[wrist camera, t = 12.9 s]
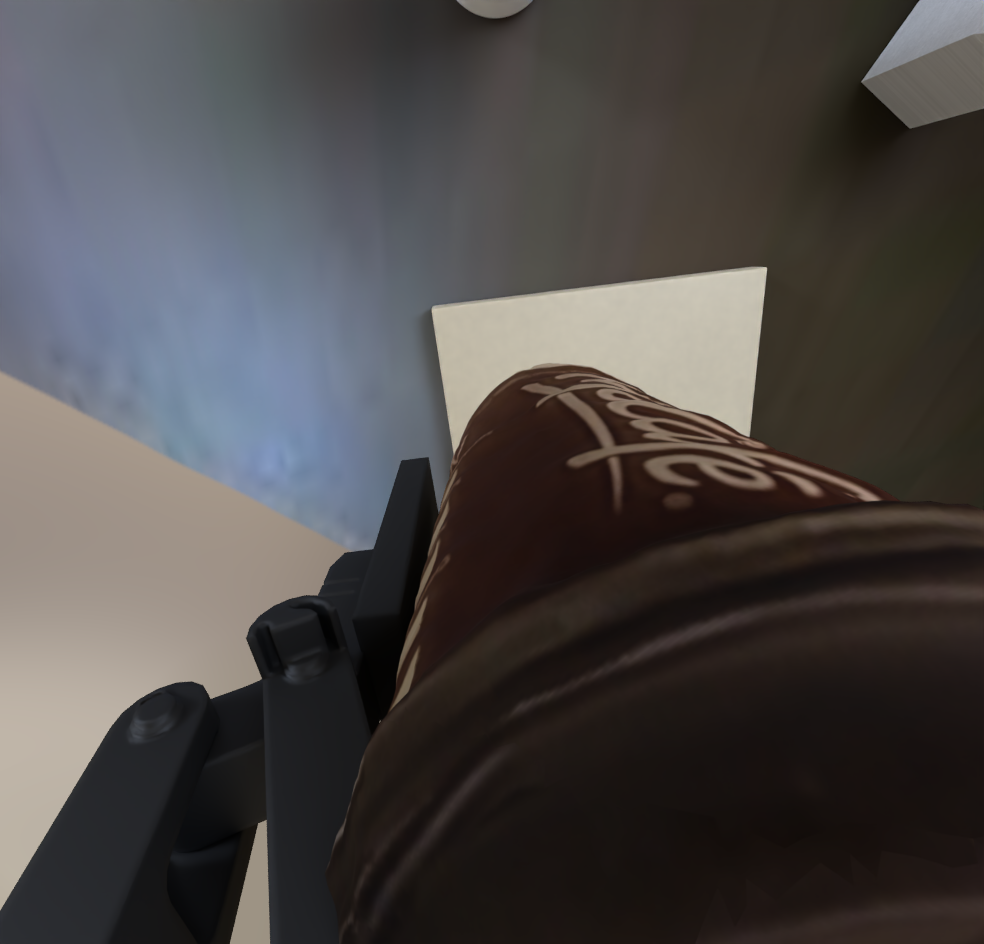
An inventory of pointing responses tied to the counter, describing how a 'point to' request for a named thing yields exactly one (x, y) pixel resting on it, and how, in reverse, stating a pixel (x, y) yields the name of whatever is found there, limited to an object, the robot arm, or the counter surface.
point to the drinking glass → (494, 7)
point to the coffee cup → (673, 696)
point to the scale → (614, 341)
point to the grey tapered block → (933, 63)
